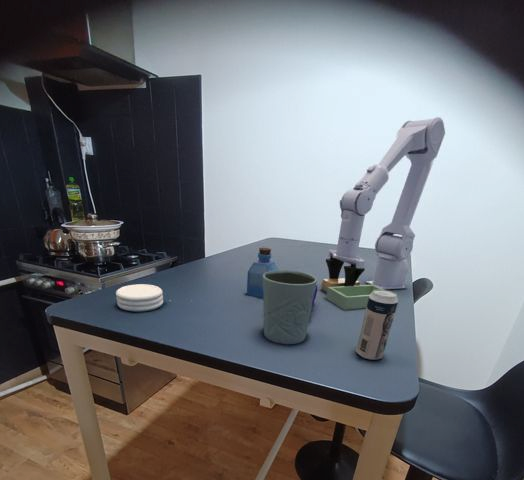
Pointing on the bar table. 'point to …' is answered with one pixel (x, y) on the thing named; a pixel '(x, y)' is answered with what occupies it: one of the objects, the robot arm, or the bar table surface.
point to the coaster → (139, 297)
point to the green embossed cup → (287, 305)
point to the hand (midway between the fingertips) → (340, 287)
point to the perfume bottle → (259, 273)
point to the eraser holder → (350, 296)
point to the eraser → (334, 283)
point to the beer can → (377, 324)
